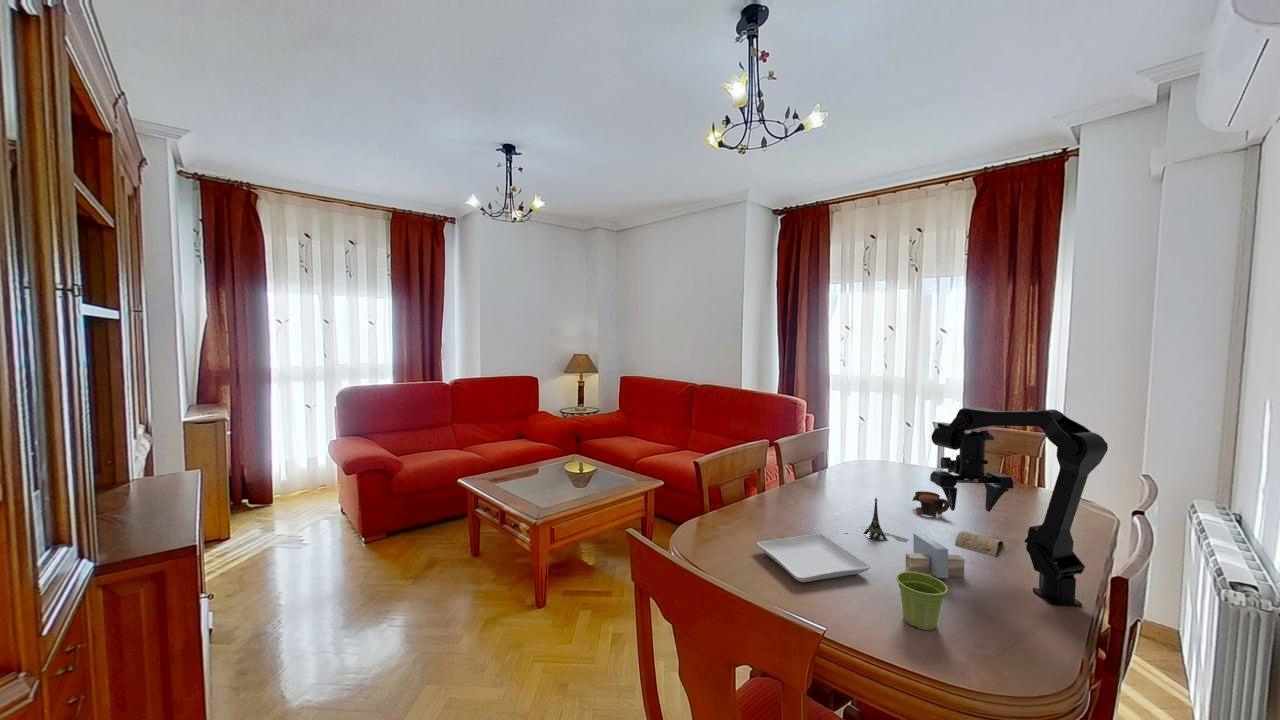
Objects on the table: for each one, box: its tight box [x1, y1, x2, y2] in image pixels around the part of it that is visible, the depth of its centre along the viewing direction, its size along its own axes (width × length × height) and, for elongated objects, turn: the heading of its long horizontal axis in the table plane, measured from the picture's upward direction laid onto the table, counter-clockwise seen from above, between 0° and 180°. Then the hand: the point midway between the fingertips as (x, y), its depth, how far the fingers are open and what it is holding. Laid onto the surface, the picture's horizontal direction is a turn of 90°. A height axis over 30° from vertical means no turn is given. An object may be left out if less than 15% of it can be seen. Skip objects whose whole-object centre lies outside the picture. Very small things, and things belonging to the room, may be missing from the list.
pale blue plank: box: [913, 532, 949, 579], centre depth 126 cm, size 12×3×7 cm, turn 176°
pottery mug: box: [912, 490, 950, 518], centre depth 166 cm, size 12×10×8 cm
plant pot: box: [895, 571, 949, 631], centre depth 103 cm, size 9×9×9 cm
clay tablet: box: [954, 530, 1003, 558], centre depth 141 cm, size 14×10×3 cm
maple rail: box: [904, 552, 966, 578], centre depth 124 cm, size 3×13×4 cm, turn 86°
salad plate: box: [756, 533, 871, 583], centre depth 129 cm, size 21×21×3 cm
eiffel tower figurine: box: [862, 497, 909, 543], centre depth 146 cm, size 15×10×13 cm
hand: (970, 510), depth 132 cm, fingers open, 9 cm apart
